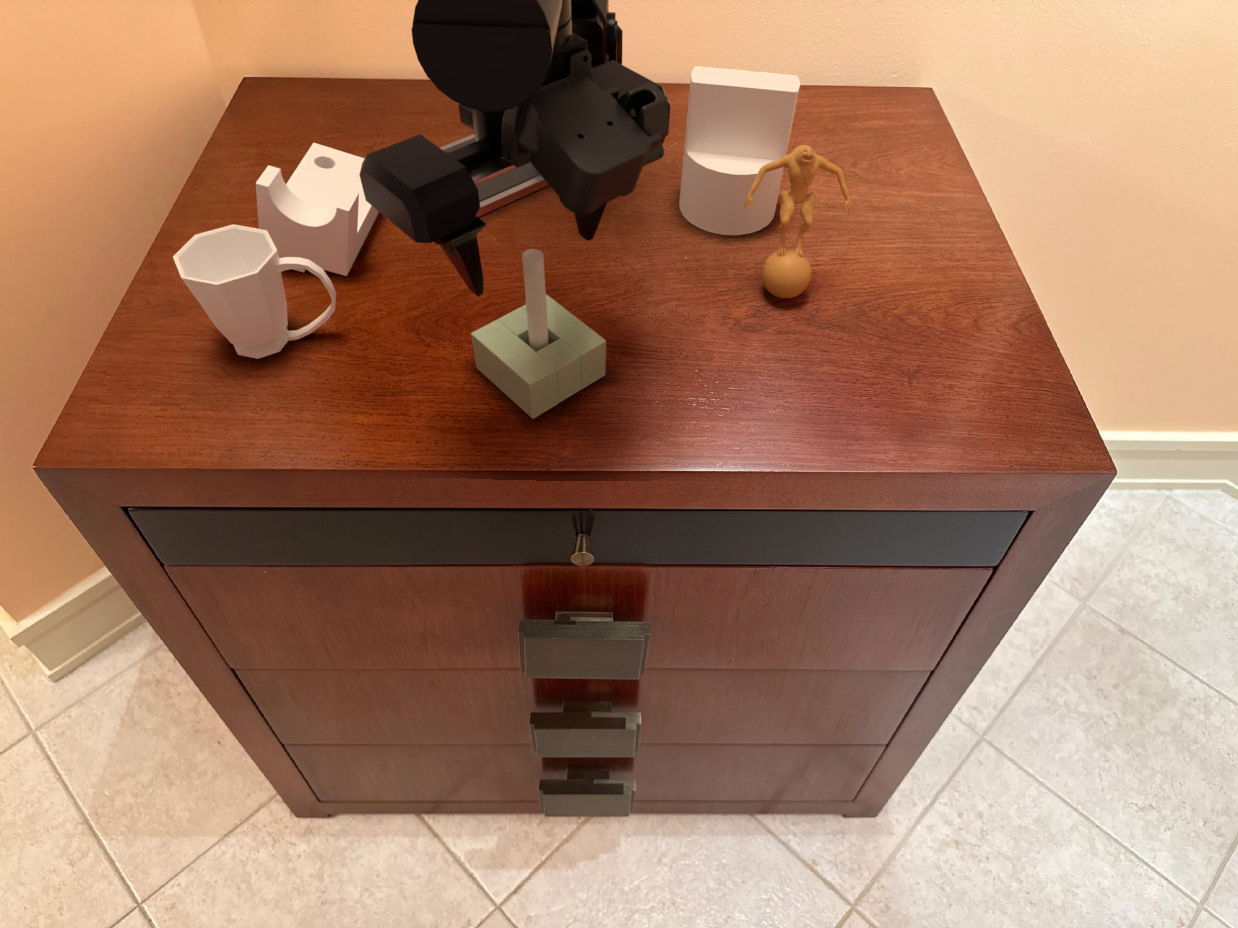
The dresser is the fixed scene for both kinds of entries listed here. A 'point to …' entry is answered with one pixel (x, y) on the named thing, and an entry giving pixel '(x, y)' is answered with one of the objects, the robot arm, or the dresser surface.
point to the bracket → (317, 209)
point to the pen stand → (539, 358)
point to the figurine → (790, 267)
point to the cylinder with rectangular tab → (735, 147)
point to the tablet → (502, 182)
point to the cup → (245, 287)
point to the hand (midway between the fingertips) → (533, 264)
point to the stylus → (535, 298)
